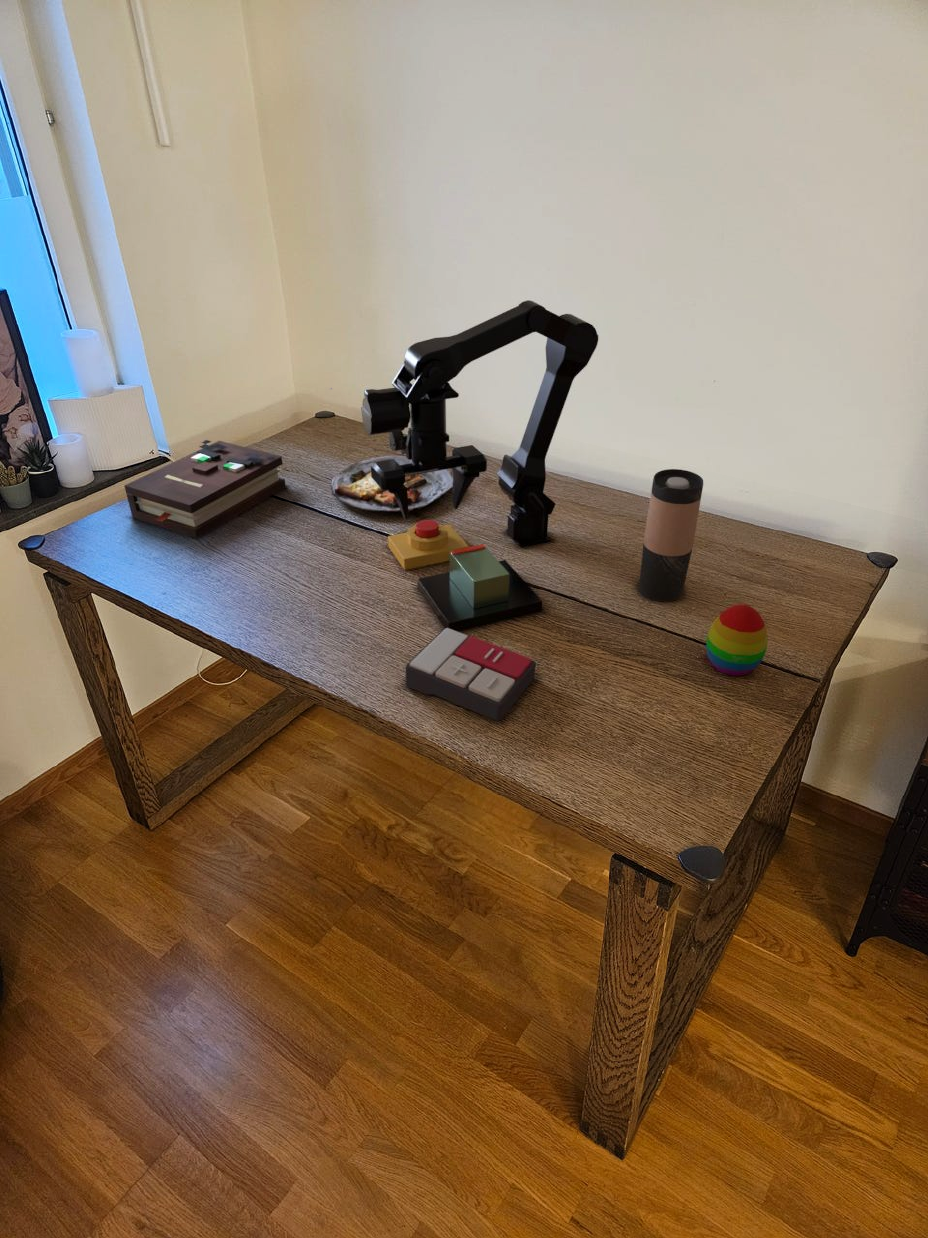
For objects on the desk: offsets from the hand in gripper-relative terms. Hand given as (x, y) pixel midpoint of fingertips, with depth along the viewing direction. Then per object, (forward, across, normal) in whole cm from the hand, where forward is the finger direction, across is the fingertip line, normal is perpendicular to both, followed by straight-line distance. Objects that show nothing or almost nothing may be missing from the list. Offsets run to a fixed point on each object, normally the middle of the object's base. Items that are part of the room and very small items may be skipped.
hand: (430, 513), depth 139 cm
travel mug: (+9, -30, +26) cm, 41 cm away
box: (+6, -1, +16) cm, 18 cm away
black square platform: (+8, -2, +16) cm, 19 cm away
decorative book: (+9, +32, -38) cm, 50 cm away
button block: (+8, 0, -2) cm, 9 cm away
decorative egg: (+9, -28, +47) cm, 55 cm away
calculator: (+9, +9, +35) cm, 37 cm away
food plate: (+9, -3, -28) cm, 29 cm away
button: (+5, 0, -2) cm, 5 cm away
